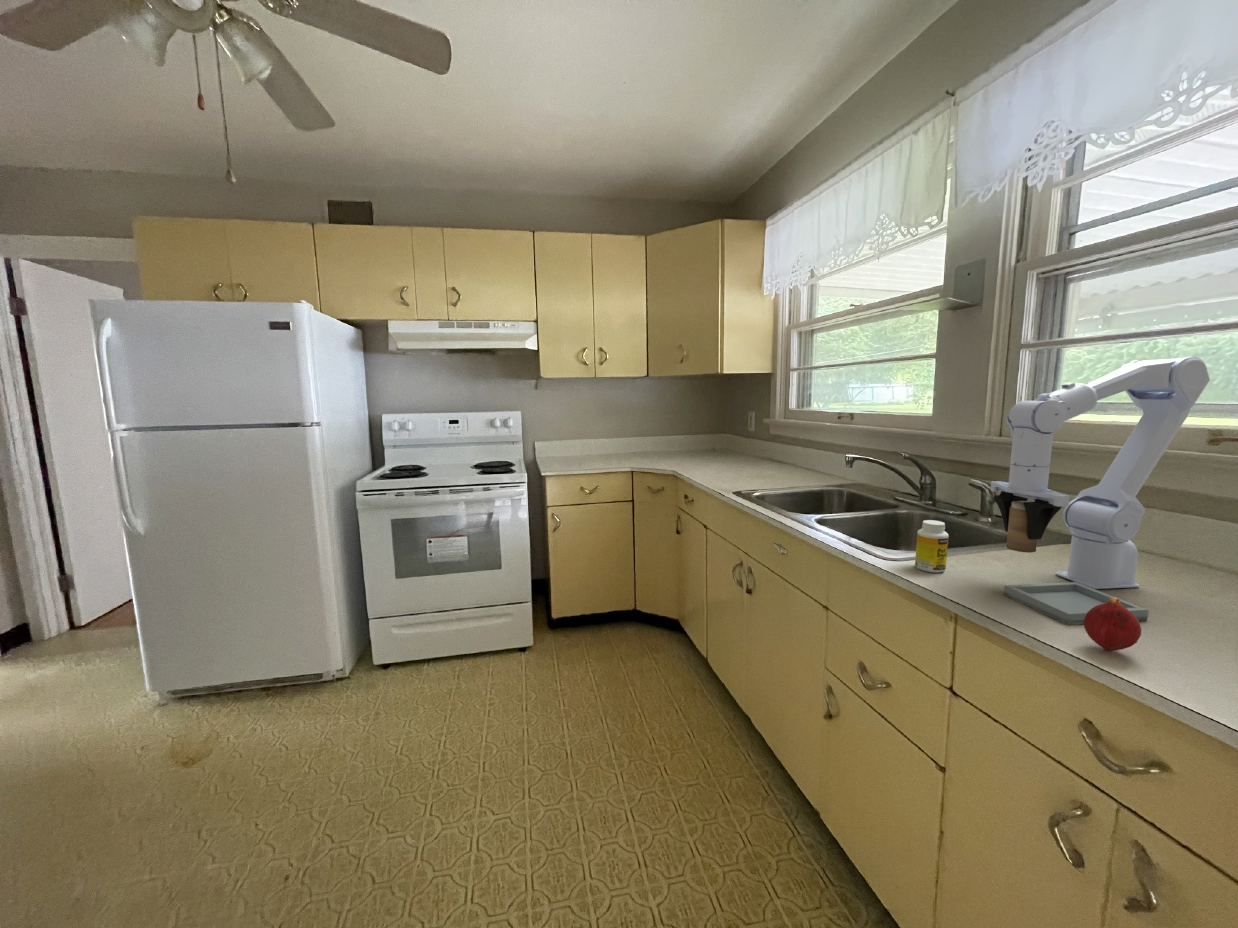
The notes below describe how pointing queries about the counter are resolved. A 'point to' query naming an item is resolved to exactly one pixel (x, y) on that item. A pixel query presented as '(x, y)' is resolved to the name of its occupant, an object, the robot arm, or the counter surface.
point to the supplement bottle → (932, 547)
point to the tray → (1066, 600)
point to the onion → (1112, 626)
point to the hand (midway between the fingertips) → (1022, 535)
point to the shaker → (1019, 529)
